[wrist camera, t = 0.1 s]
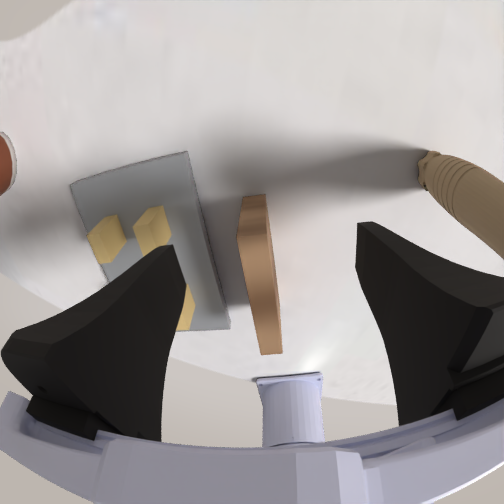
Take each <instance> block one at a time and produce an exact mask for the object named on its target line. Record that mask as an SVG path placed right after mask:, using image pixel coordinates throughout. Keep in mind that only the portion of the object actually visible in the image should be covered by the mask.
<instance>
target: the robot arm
mask: <svg viewBox="0 0 504 504" xmlns="http://www.w3.org/2000/svg"><path fill="white" fill-rule="evenodd" d="M355 268H356V272H357V275H358V278H359V282H360V285H361V288H362V290H363V293H364V295H365V297H366V299H367V302H368V304H369V306H370V308H371V311H372V313H373V315H374V318H375V320H376V322H377V325H378V327H379V329H380V332H381V335H382V338H383V340H384V344H385V348H386V352H387V355H388V359H389V364H390V368H391V373H392V378H393V383H394V389H395V395H396V402H397V410H398V420H399V427H396V428H392V429H388V430H384V431H380V432H376V433H371V434H367V435H363V436H357V437H352V438H346V439H341V440H335V441H328V442H325V437H324V428H323V419H322V411H321V395H322V384H323V374H322V373H314V374H305V375H296V376H286V377H274V378H260V379H257V380H256V384H257V387H258V391H259V394H260V398H261V401H262V405H263V444H262V447H258V448H257V447H256V448H229V447H228V448H225V447H205V446H192V445H181V444H172V443H164V442H161V417H162V399H163V390H164V381H165V373H166V367H167V361H168V356H169V352H170V348H171V345H172V342H173V338H174V335H175V332H176V329H177V325H178V322H179V319H180V316H181V312H182V309H183V305H184V300H185V293H186V286H187V285H186V282H185V279H184V276H183V273H182V270H181V267H180V264H179V261H178V258H177V255H176V252H175V249H174V246H173V244H171V245H163V246H159V247H157V248H155V249H153V250H152V251H151V252H149V253H148V254H146V255H145V256H144V257H143V258H141V259H140V260H139V261H137V262H136V263H135V264H134V265H132V266H131V267H130V268H129V269H127V270H126V271H125V272H123V273H122V274H121V275H119V276H118V277H117V278H115V279H114V280H113V281H112V282H110V283H109V284H108V285H106V286H105V287H103V288H102V289H100V290H99V291H98V292H96V293H94V294H93V295H91V296H90V297H88V298H87V299H85V300H83V301H82V302H80V303H78V304H76V305H74V306H72V307H71V308H69V309H67V310H65V311H63V312H61V313H59V314H57V315H55V316H53V317H51V318H48V319H46V320H44V321H41V322H39V323H36V324H33V325H30V326H27V327H25V328H22V329H19V330H16V331H15V332H14V333H12V335H11V336H10V338H9V339H8V341H7V342H6V344H5V345H4V347H3V349H2V350H1V357H2V360H3V362H4V364H5V365H6V367H7V368H8V369H9V371H10V372H11V373H12V374H13V375H14V376H15V378H16V379H17V380H18V381H19V382H20V383H21V384H22V385H23V386H24V387H25V388H26V389H27V390H28V391H29V392H30V393H31V394H32V395H33V396H32V398H31V400H30V401H29V400H28V399H26V398H25V397H23V396H20V395H18V394H16V393H13V392H11V391H8V393H7V395H6V397H5V399H4V401H3V403H2V405H1V408H0V450H2V451H3V452H5V453H6V454H7V455H9V456H11V457H12V458H13V459H15V460H16V461H18V462H19V463H21V464H22V465H24V466H25V467H27V468H28V469H30V470H31V471H33V472H35V473H36V474H38V475H40V476H41V477H43V478H45V479H47V480H48V481H50V482H52V483H54V484H56V485H58V486H60V487H61V488H64V489H65V490H67V491H70V492H72V493H74V494H76V495H78V496H80V497H82V498H85V499H87V500H89V501H92V502H93V503H94V504H434V501H436V500H439V499H441V498H443V497H446V496H448V495H449V494H452V493H454V492H456V491H458V490H460V489H462V488H464V487H466V486H468V485H470V484H471V483H473V482H475V481H477V480H479V479H480V478H482V477H484V476H485V475H487V474H489V473H490V472H492V471H494V470H495V469H497V468H498V467H500V466H502V465H503V464H504V277H499V276H495V275H491V274H487V273H484V272H480V271H477V270H474V269H471V268H468V267H465V266H462V265H459V264H456V263H454V262H451V261H449V260H447V259H444V258H442V257H440V256H437V255H435V254H433V253H431V252H429V251H427V250H425V249H423V248H421V247H419V246H417V245H415V244H414V243H412V242H410V241H408V240H406V239H404V238H403V237H401V236H399V235H397V234H396V233H394V232H392V231H390V230H389V229H387V228H385V227H383V226H381V225H379V224H377V223H375V222H372V221H371V222H361V223H357V245H356V263H355Z"/></svg>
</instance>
